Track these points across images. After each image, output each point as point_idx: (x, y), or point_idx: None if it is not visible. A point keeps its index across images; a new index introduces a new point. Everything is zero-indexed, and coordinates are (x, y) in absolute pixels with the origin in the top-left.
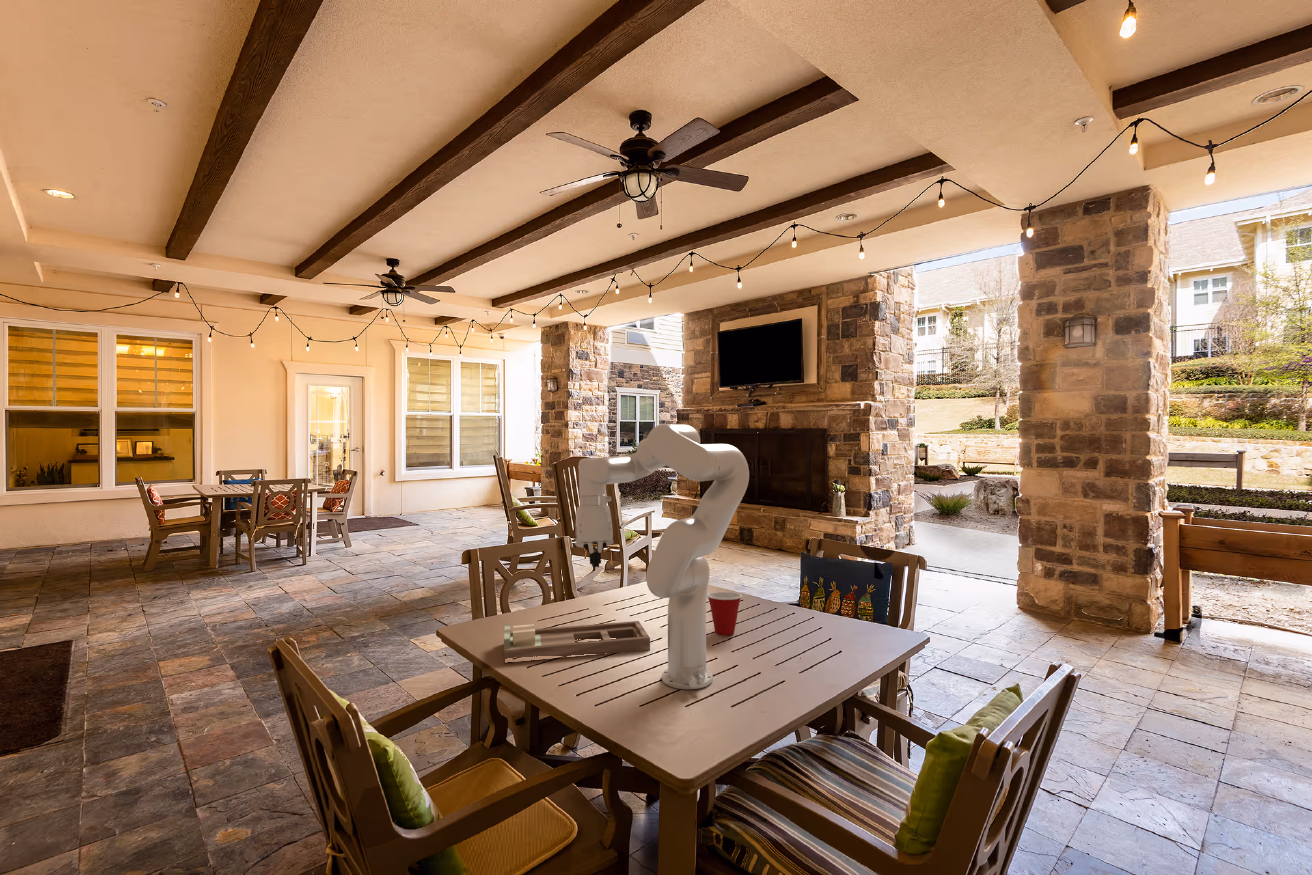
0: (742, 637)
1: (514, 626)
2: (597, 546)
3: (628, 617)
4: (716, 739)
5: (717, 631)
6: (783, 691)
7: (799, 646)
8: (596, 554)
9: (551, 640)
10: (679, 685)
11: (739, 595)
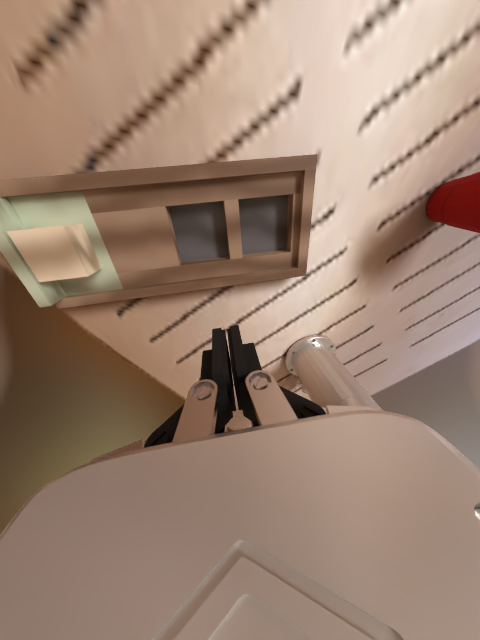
0: (446, 232)
1: (13, 236)
2: (257, 407)
3: None
4: None
5: (430, 211)
6: (371, 375)
7: (474, 280)
8: (240, 408)
9: (127, 244)
10: (295, 375)
11: None
